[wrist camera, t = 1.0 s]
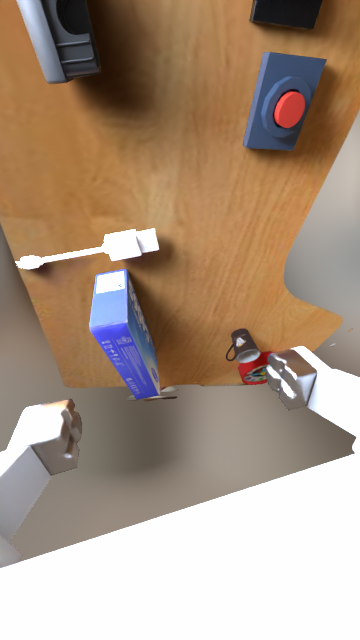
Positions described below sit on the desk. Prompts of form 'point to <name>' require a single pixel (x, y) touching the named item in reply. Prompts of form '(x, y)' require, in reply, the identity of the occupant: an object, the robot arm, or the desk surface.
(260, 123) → the button box
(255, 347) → the coffee mug
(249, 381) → the toy clock
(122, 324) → the toner cartridge
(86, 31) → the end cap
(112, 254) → the charging cable
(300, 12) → the black metal stand
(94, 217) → the desk surface
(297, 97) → the button
